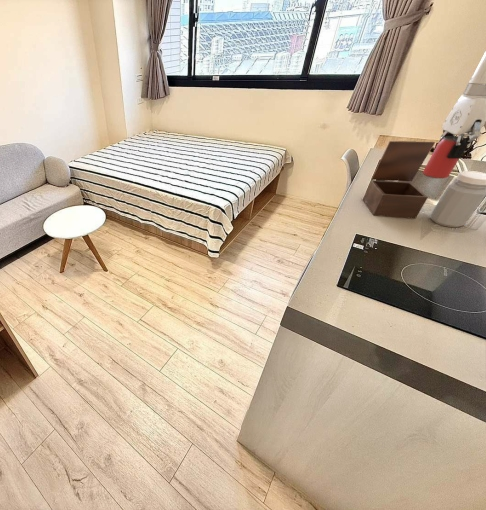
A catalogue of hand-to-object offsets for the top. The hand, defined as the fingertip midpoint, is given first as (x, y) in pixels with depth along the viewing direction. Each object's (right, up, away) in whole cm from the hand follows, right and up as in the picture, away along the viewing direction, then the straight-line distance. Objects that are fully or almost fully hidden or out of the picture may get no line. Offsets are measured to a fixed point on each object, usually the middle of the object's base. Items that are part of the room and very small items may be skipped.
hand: (446, 154), depth 89 cm
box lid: (+3, +4, +19) cm, 20 cm away
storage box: (+2, -13, +25) cm, 28 cm away
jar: (+15, -20, +14) cm, 29 cm away
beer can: (0, -6, +4) cm, 7 cm away
